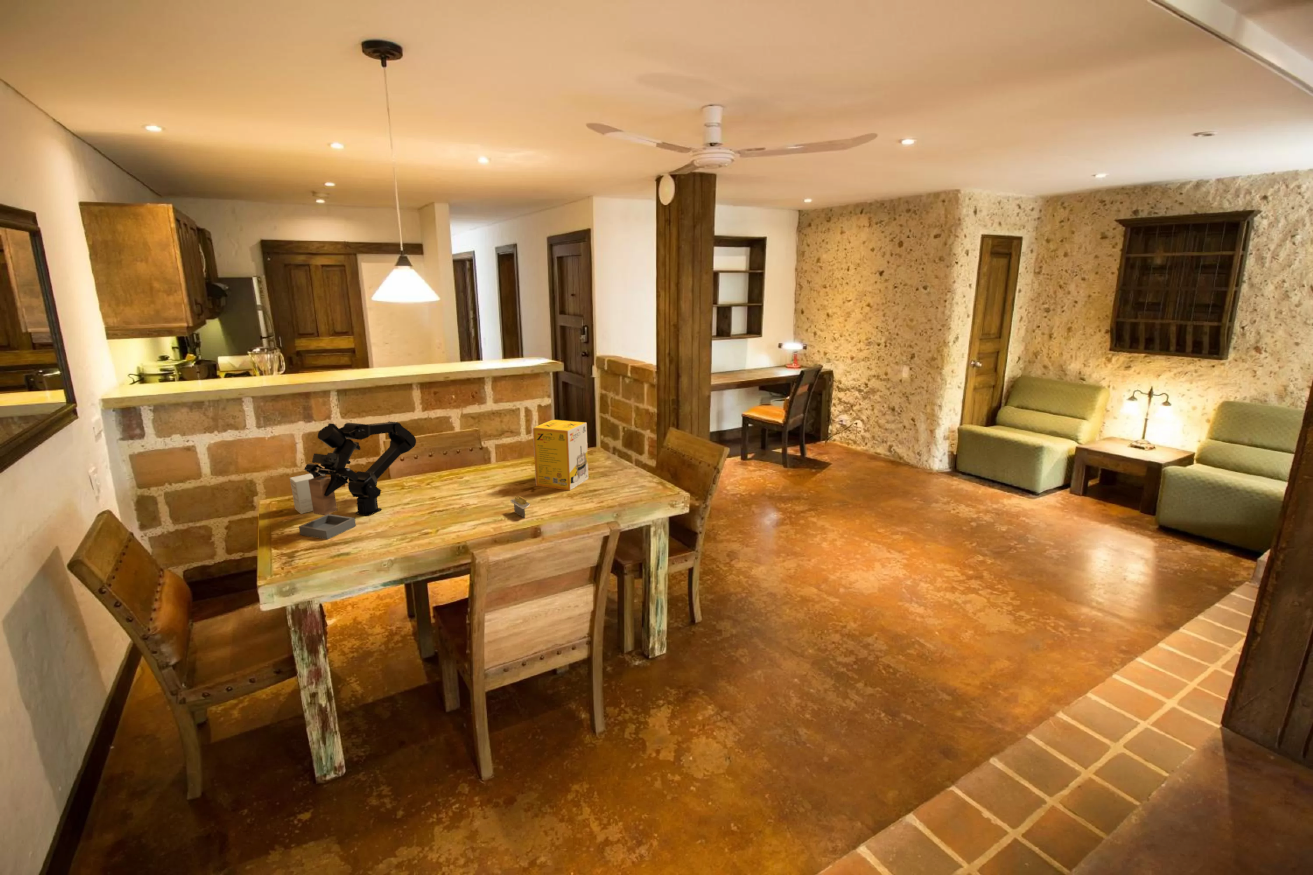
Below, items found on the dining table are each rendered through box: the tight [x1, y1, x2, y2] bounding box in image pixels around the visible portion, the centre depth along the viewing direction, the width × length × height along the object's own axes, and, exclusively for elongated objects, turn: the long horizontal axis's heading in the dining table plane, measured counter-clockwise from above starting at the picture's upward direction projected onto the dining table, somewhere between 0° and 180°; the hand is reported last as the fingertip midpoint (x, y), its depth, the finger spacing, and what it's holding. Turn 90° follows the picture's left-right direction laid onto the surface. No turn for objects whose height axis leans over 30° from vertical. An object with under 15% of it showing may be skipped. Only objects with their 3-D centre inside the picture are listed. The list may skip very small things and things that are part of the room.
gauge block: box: [308, 475, 338, 516], centre depth 204 cm, size 5×5×12 cm
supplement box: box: [289, 473, 314, 515], centre depth 225 cm, size 7×7×13 cm
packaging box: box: [532, 419, 589, 491], centre depth 253 cm, size 16×16×25 cm
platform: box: [510, 495, 531, 519], centre depth 220 cm, size 12×18×7 cm, turn 40°
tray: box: [298, 513, 357, 540], centre depth 206 cm, size 12×12×3 cm
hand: (319, 495), depth 202 cm, fingers closed on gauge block, 5 cm apart
